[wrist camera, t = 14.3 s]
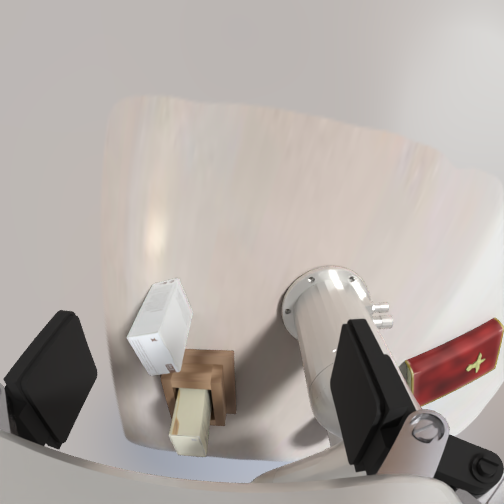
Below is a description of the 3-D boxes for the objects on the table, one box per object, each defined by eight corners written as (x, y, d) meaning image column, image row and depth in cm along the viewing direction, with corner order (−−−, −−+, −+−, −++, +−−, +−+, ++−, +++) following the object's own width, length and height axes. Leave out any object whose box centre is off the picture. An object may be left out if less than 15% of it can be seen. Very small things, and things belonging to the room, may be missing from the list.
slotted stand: (233, 350, 45) (231, 375, 40) (236, 407, 51) (235, 431, 46) (157, 347, 45) (148, 370, 40) (170, 403, 51) (165, 426, 46)
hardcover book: (403, 358, 47) (412, 374, 44) (493, 315, 45) (505, 327, 41) (404, 397, 52) (411, 412, 48) (486, 357, 49) (495, 369, 45)
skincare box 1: (151, 283, 41) (121, 336, 30) (181, 275, 41) (157, 330, 29) (168, 319, 43) (146, 377, 32) (196, 313, 43) (180, 373, 32)
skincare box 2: (181, 372, 45) (166, 433, 34) (208, 372, 45) (199, 435, 34) (188, 398, 48) (177, 456, 36) (213, 398, 48) (206, 458, 36)
